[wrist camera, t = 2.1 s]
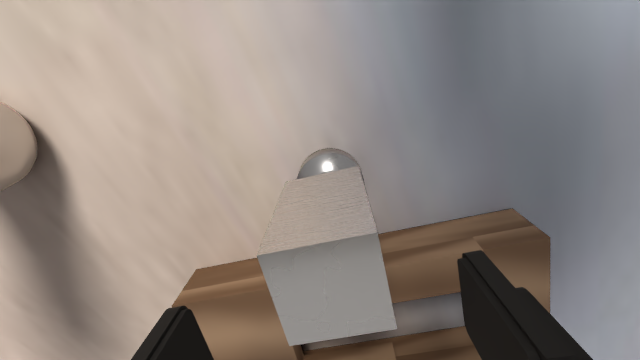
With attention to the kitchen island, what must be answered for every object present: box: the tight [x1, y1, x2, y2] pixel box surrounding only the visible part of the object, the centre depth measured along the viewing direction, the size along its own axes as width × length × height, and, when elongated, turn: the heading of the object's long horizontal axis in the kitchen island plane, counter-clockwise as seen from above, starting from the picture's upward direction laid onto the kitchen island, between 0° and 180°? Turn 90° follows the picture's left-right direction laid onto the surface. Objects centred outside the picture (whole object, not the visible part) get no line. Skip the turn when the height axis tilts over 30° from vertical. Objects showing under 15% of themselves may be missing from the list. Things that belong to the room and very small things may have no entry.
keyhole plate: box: [172, 208, 550, 360], centre depth 23 cm, size 12×24×4 cm, turn 104°
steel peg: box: [257, 148, 397, 346], centre depth 16 cm, size 4×4×12 cm
